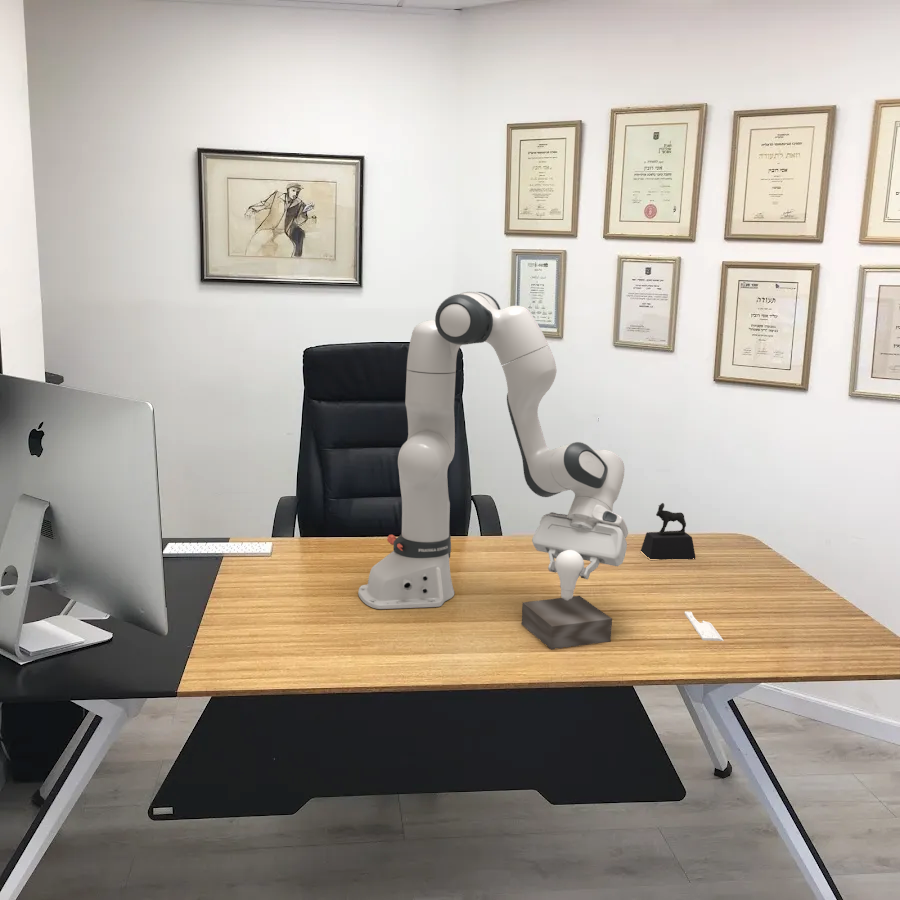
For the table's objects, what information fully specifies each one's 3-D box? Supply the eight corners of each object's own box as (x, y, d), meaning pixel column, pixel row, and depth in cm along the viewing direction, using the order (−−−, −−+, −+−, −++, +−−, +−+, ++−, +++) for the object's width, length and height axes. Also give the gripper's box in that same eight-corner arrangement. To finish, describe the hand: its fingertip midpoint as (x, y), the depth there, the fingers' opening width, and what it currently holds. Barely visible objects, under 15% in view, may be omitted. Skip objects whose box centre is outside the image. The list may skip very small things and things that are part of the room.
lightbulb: (562, 607, 194) (566, 556, 191) (546, 596, 199) (550, 547, 196) (586, 603, 196) (591, 553, 194) (570, 593, 202) (574, 544, 199)
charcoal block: (550, 649, 190) (552, 626, 189) (521, 624, 203) (522, 602, 202) (610, 641, 195) (612, 618, 194) (578, 616, 208) (579, 595, 207)
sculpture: (639, 551, 256) (643, 499, 253) (686, 551, 258) (690, 498, 255) (648, 561, 248) (652, 506, 245) (696, 560, 250) (701, 506, 247)
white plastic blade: (706, 615, 212) (706, 611, 211) (725, 642, 197) (726, 638, 197) (684, 614, 212) (684, 610, 211) (701, 642, 197) (702, 637, 197)
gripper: (540, 503, 205) (519, 557, 199) (629, 518, 195) (609, 576, 188) (548, 518, 209) (527, 572, 203) (635, 533, 199) (616, 590, 193)
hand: (567, 574), depth 196 cm, fingers closed on lightbulb, 6 cm apart
